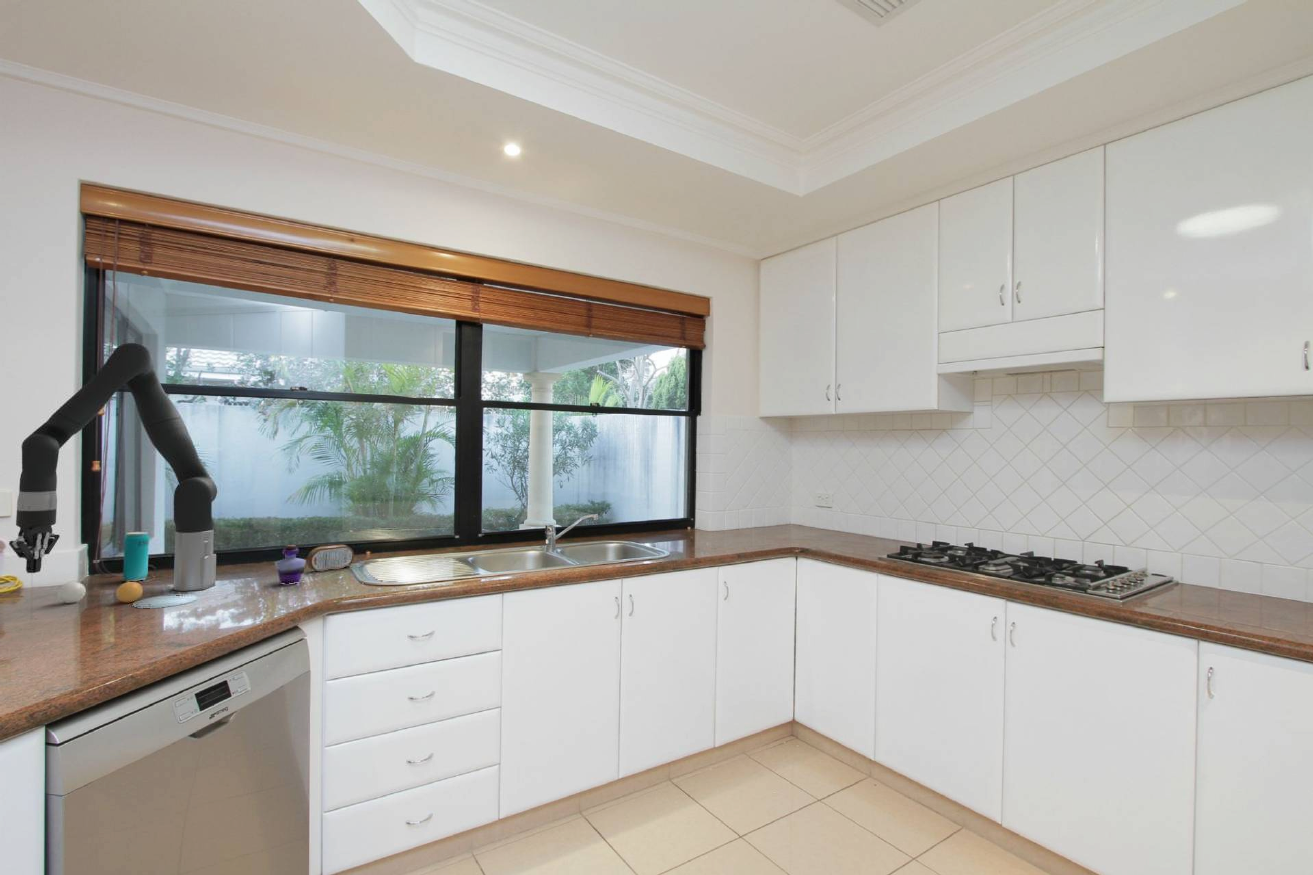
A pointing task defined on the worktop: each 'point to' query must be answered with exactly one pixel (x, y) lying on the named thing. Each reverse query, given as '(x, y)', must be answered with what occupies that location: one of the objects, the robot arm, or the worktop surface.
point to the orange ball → (129, 592)
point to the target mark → (164, 601)
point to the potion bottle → (290, 565)
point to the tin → (330, 557)
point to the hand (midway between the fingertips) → (33, 572)
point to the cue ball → (71, 592)
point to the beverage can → (136, 556)
